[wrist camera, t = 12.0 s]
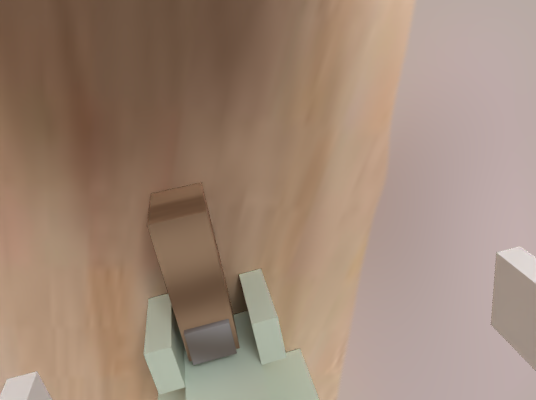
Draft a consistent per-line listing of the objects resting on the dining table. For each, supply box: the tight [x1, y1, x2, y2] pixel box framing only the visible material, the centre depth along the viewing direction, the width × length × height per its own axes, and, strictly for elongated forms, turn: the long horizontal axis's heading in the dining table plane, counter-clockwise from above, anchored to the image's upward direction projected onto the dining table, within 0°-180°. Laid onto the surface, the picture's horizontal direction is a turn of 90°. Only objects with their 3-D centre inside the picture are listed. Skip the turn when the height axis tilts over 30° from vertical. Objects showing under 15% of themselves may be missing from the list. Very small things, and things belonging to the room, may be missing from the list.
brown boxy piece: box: [147, 183, 240, 365], centre depth 35 cm, size 12×4×6 cm, turn 10°
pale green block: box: [144, 269, 319, 400], centre depth 35 cm, size 12×14×14 cm
